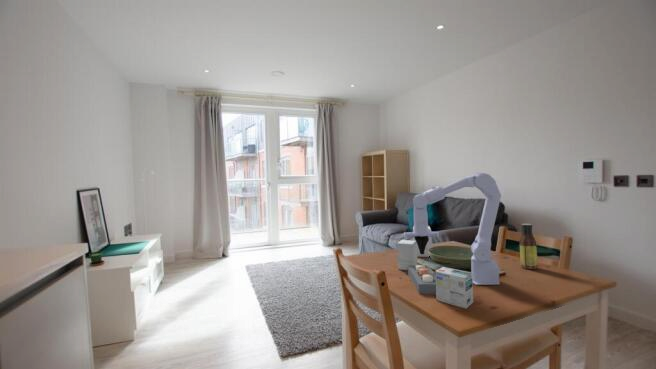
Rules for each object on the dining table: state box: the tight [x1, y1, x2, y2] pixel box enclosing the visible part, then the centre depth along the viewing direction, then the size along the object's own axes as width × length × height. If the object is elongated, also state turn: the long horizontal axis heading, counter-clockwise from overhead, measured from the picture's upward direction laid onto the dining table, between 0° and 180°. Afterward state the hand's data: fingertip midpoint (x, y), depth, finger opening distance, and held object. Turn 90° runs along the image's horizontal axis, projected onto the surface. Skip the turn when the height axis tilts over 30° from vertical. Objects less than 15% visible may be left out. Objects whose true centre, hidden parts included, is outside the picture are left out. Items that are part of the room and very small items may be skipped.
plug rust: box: [419, 268, 429, 276], centre depth 120 cm, size 4×4×5 cm
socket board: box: [407, 265, 436, 295], centre depth 120 cm, size 9×21×4 cm, turn 176°
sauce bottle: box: [519, 223, 538, 270], centre depth 131 cm, size 7×6×20 cm
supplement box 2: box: [412, 225, 433, 258], centre depth 158 cm, size 9×9×15 cm
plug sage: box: [416, 264, 426, 271], centre depth 126 cm, size 4×4×5 cm
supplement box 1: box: [396, 239, 418, 271], centre depth 139 cm, size 7×7×13 cm
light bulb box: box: [434, 266, 474, 309], centre depth 102 cm, size 11×7×11 cm, turn 45°
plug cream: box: [423, 274, 433, 282], centre depth 114 cm, size 4×4×5 cm
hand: (421, 253), depth 126 cm, fingers closed
